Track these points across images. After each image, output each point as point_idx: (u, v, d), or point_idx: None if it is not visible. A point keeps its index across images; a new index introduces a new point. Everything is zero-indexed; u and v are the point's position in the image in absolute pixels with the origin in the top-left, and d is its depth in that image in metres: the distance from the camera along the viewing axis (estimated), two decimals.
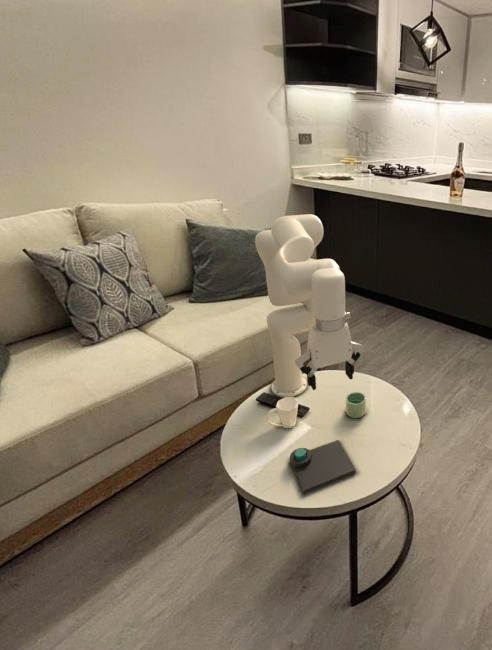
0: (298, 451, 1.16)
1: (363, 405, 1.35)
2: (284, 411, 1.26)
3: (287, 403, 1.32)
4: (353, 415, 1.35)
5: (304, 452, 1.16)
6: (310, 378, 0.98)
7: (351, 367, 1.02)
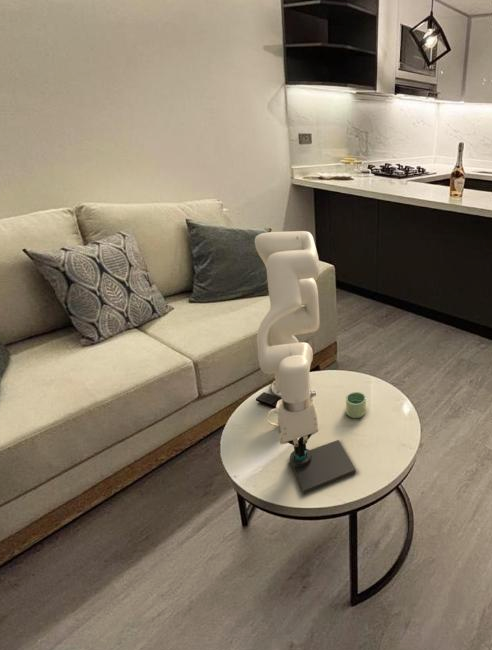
0: None
1: (363, 405, 1.35)
2: None
3: None
4: (353, 415, 1.35)
5: None
6: (296, 447, 1.13)
7: (303, 446, 1.13)
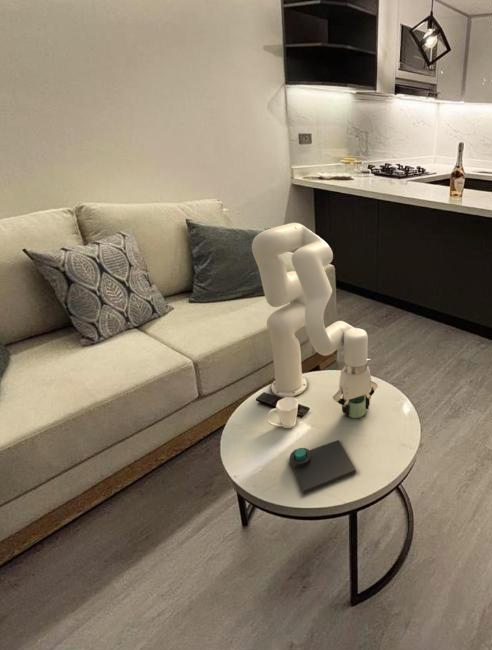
0: (298, 451, 1.16)
1: (363, 405, 1.35)
2: (284, 411, 1.26)
3: (287, 403, 1.32)
4: (353, 415, 1.35)
5: (304, 452, 1.16)
6: (344, 407, 1.34)
7: (367, 400, 1.37)
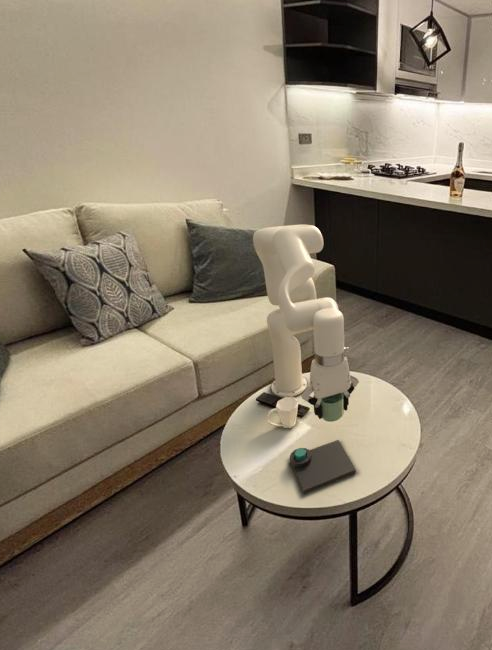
0: (298, 451, 1.16)
1: (340, 405, 1.08)
2: (284, 411, 1.26)
3: (287, 403, 1.32)
4: (327, 418, 1.08)
5: (304, 452, 1.16)
6: (316, 408, 1.07)
7: (346, 400, 1.10)
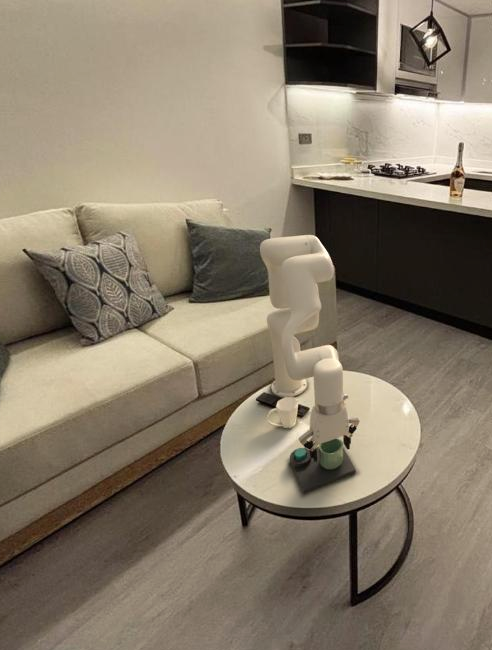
0: (298, 451, 1.16)
1: (339, 454, 1.13)
2: (284, 411, 1.26)
3: (287, 403, 1.32)
4: (327, 466, 1.13)
5: (304, 452, 1.16)
6: (312, 452, 1.11)
7: (348, 439, 1.15)
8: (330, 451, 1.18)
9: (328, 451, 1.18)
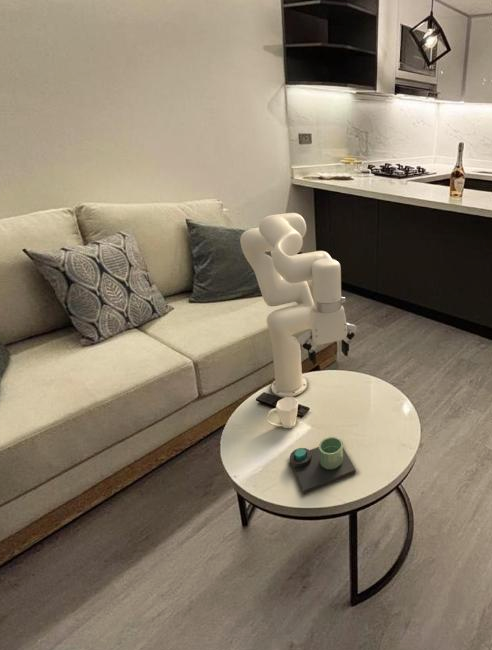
0: (298, 451, 1.16)
1: (339, 454, 1.13)
2: (284, 411, 1.26)
3: (287, 403, 1.32)
4: (327, 466, 1.13)
5: (304, 452, 1.16)
6: (311, 354, 1.13)
7: (346, 345, 1.17)
8: (330, 451, 1.18)
9: (328, 451, 1.18)
